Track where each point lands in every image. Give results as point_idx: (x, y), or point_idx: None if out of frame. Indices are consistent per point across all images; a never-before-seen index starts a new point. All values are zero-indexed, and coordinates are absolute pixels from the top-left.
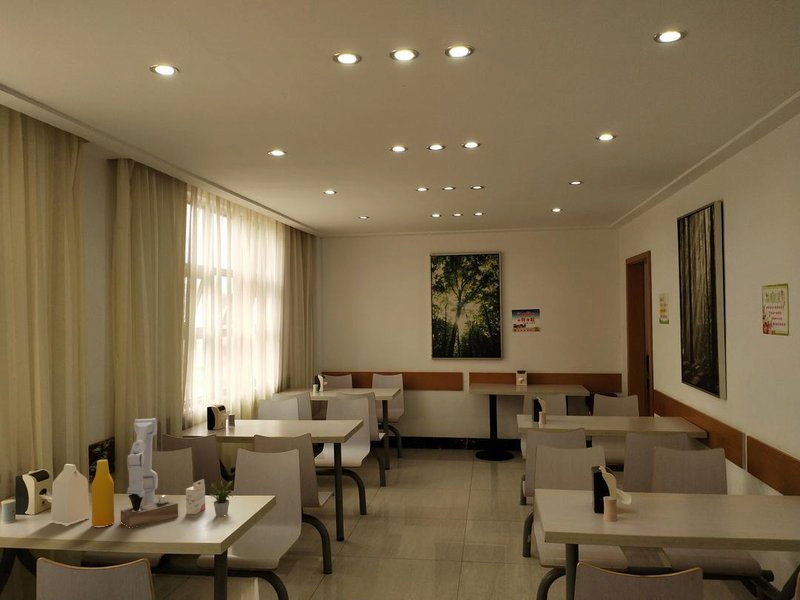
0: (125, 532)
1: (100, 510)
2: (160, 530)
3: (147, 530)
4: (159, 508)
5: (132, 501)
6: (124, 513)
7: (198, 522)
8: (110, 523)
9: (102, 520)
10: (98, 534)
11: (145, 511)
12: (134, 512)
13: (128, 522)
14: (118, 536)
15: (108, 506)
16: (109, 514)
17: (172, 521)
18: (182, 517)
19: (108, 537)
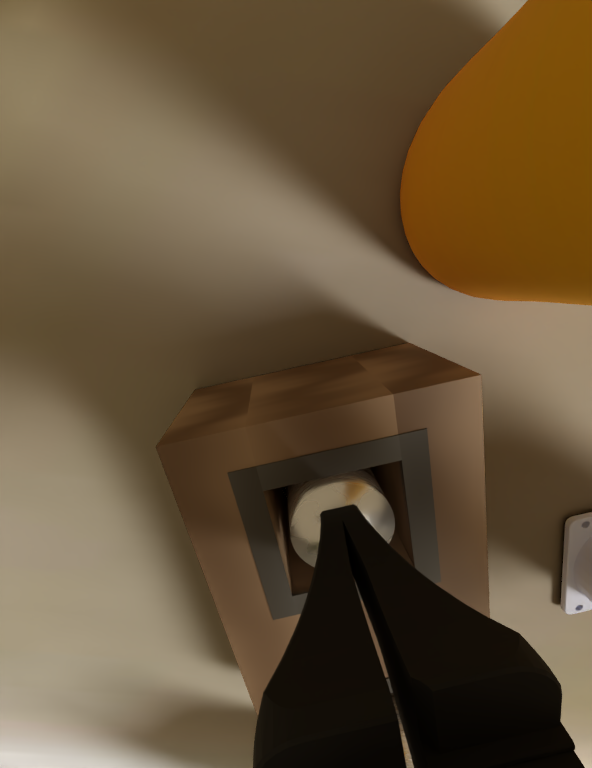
0: (107, 341)
1: (554, 5)
2: (12, 568)
3: (65, 496)
4: (253, 697)
5: (348, 604)
6: (338, 399)
7: (73, 749)
8: (415, 248)
9: (434, 136)
10: (195, 86)
11: (215, 598)
12: (240, 503)
13: (222, 398)
14: (8, 266)
15: (561, 170)
16: (467, 222)
17: (194, 646)
18: (244, 695)
19: (22, 169)
